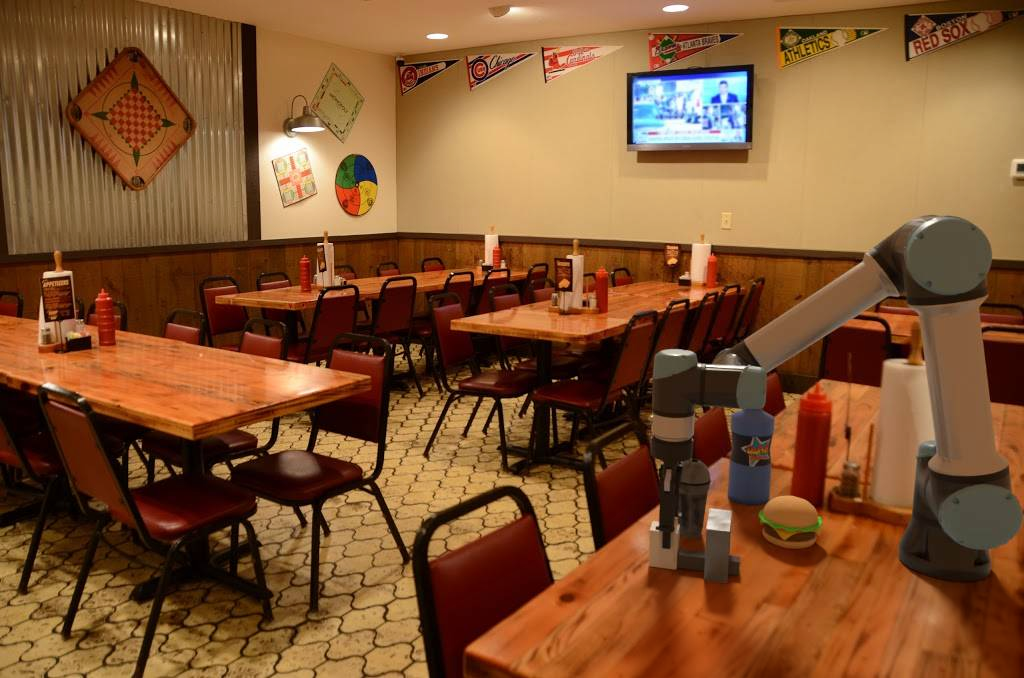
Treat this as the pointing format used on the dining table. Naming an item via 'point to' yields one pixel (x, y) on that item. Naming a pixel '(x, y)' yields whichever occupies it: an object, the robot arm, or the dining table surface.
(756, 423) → the water bottle
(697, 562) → the beige and grey hammer
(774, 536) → the hamburger
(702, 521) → the beverage cup
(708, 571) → the grey slab
